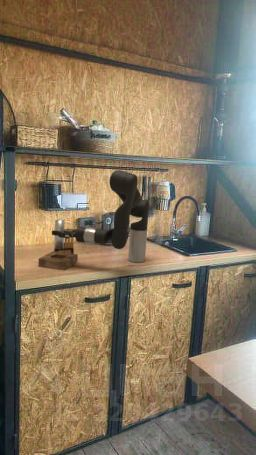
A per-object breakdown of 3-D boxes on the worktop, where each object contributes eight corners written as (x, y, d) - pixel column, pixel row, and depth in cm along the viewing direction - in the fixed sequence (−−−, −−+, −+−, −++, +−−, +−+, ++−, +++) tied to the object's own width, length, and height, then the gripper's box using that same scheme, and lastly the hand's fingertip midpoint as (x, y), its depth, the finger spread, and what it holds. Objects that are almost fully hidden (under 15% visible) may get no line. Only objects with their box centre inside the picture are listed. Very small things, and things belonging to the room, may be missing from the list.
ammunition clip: (72, 256, 202) (73, 234, 200) (73, 256, 201) (74, 235, 198) (53, 257, 198) (54, 235, 195) (54, 258, 196) (54, 235, 194)
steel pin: (56, 246, 186) (57, 219, 184) (65, 247, 185) (65, 220, 183) (52, 248, 182) (53, 220, 179) (61, 249, 181) (62, 221, 178)
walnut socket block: (52, 258, 194) (52, 251, 193) (77, 261, 191) (77, 254, 191) (38, 266, 179) (38, 258, 178) (65, 270, 176) (65, 262, 175)
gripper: (92, 225, 185) (60, 222, 189) (82, 229, 172) (48, 226, 175) (91, 240, 187) (59, 236, 190) (81, 245, 173) (47, 241, 176)
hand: (54, 231), depth 182 cm, fingers closed on steel pin, 4 cm apart
